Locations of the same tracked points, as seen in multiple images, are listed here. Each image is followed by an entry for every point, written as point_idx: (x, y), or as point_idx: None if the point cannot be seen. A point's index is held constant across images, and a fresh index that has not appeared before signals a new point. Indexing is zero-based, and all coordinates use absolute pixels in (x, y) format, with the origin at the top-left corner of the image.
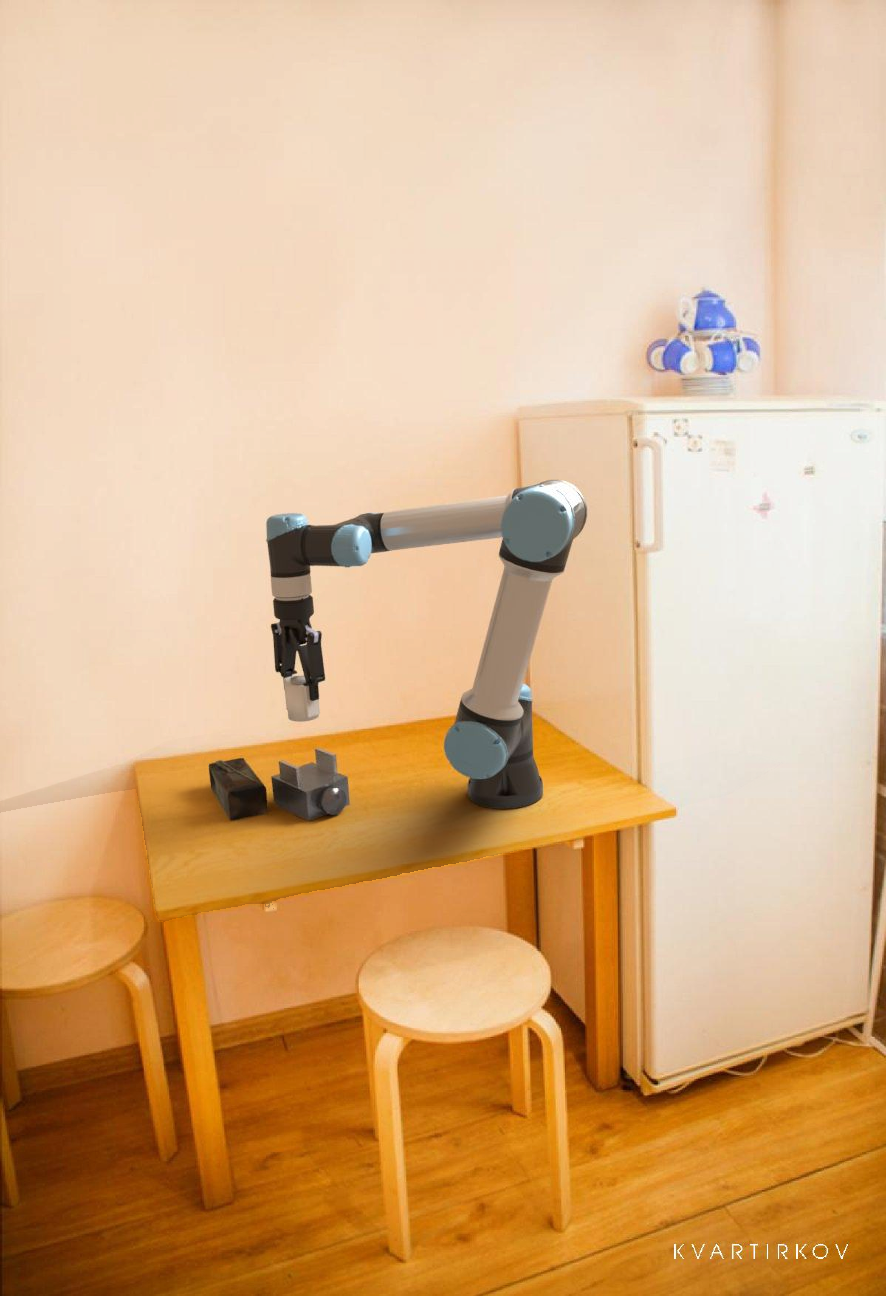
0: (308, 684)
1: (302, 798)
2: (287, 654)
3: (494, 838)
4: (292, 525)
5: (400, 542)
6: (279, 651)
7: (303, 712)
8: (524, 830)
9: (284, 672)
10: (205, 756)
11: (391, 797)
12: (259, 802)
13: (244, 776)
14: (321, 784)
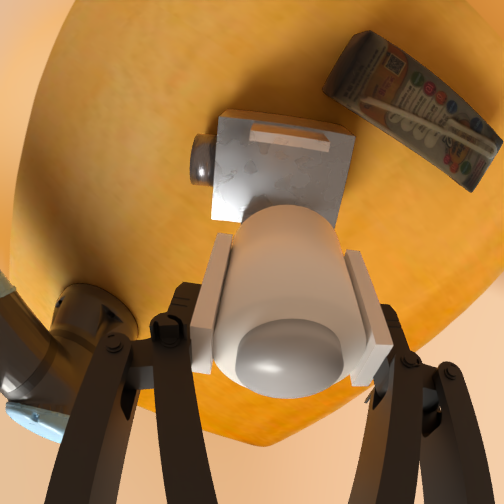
0: (156, 327)
1: (237, 115)
2: (376, 478)
3: (20, 229)
4: None
5: None
6: (452, 467)
7: (240, 240)
8: (21, 259)
9: (393, 372)
10: None
11: (188, 249)
12: (330, 78)
13: (407, 111)
14: (224, 163)
